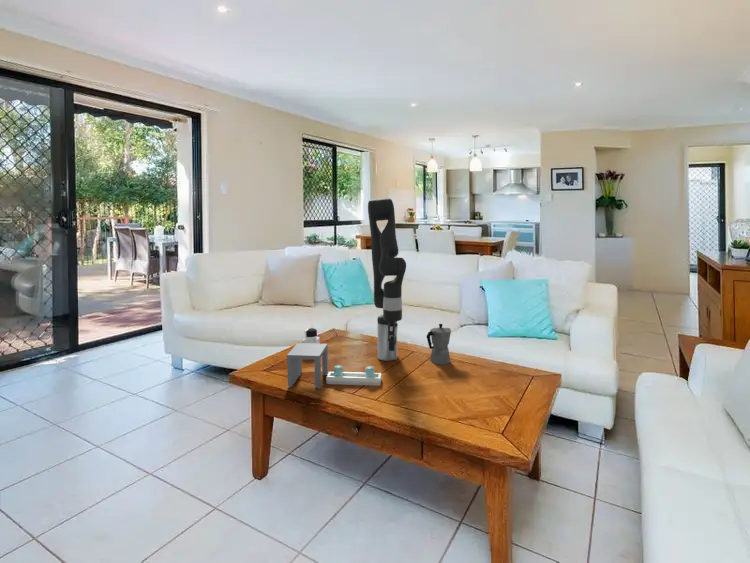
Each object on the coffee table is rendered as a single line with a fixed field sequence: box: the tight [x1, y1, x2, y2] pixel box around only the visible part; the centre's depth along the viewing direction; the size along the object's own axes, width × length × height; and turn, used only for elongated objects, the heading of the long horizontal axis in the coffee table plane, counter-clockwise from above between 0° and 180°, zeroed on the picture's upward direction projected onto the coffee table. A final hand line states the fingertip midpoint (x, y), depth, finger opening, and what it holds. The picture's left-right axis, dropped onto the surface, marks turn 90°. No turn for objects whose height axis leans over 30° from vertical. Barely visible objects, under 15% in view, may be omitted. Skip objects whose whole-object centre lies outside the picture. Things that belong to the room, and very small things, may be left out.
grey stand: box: [286, 342, 329, 389], centre depth 185 cm, size 13×16×14 cm
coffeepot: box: [426, 323, 452, 366], centre depth 206 cm, size 15×9×18 cm, turn 129°
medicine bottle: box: [301, 327, 321, 344], centre depth 221 cm, size 7×7×12 cm
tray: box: [325, 365, 382, 386], centre depth 184 cm, size 22×6×6 cm, turn 85°
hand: (392, 347), depth 180 cm, fingers open, 8 cm apart
